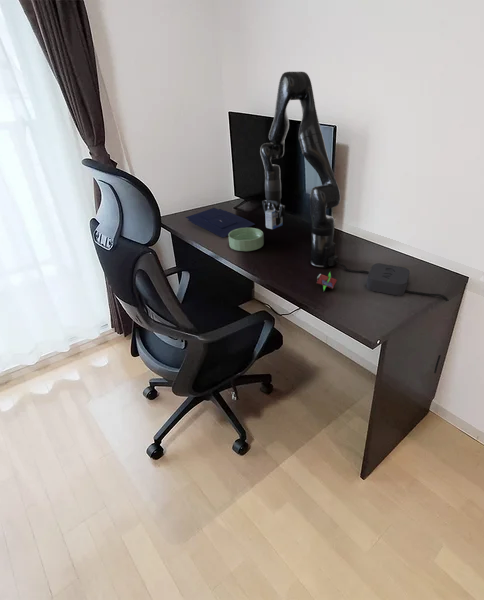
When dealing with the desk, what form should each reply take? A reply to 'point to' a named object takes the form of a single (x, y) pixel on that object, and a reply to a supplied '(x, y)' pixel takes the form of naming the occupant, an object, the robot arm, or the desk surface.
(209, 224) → the folded navy cloth
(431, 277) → the desk surface
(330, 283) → the geometric puzzle
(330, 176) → the robot arm
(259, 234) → the bowl
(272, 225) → the medicine box
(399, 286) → the streaming box
